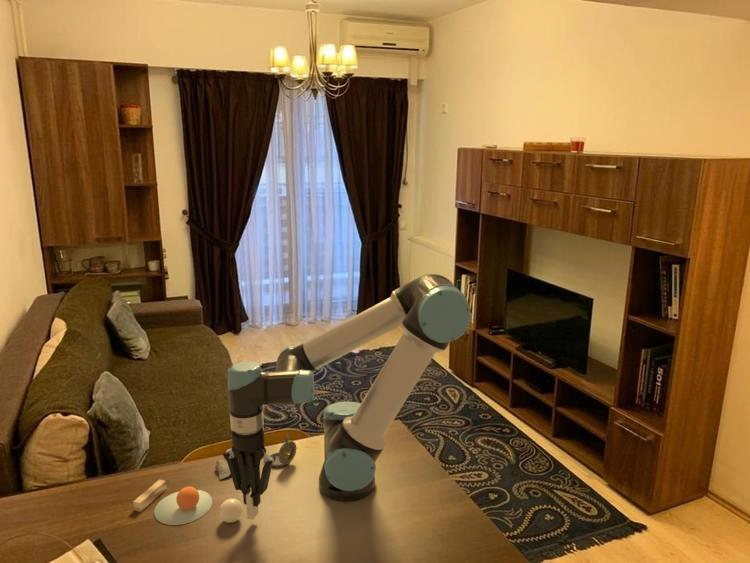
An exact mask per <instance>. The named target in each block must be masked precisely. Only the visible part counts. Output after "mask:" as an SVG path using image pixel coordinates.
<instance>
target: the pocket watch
mask: <svg viewBox="0 0 750 563" xmlns="http://www.w3.org/2000/svg"><path fill="white" fill-rule="evenodd" d="M289 437H291V433H287V434H286V435H285V436H284V437H283V440H284V442H283V443H282V445H281V446H280V448H279V450H278V452H275V453H272V454H270V455H269V456H270V457H271V456H275V458H276V459H275V461H274V462H273V464H272V467H276V468H279V467H284V466H286V465H289V463H291V462H292V461H293V460H294V458H295V456H296V453H297V445H296V443H295V442H294V441H293V440H290V439H289Z"/></svg>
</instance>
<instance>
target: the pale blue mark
mask: <svg viewBox="0 0 750 563" xmlns="http://www.w3.org/2000/svg"><path fill="white" fill-rule="evenodd" d="M196 490H197V491H198V493H199V502H198V504H197V505H196V506H195V507H194V508H192V509H190V510H183V509H181V508H180V507H179V506H178V504H177V501H176V498H177V495H178V493H179V491H176V492H173V493H170V494H169V495H167V496H165V497H164V498H162V499H161V500H160V501H159V502H158V503H157V504H156V506H155V508H154V511H153V515H154V518H155V519H156V521H158V522H160V523H161V524H164V525H167V526H179V525H181V526H182V525H185V524H189V523H193V522H195V521H197V520H199V519H201V518H202V517H204V516H205V515H206V514H207V513H208V512H209V511H210V510H211V508H212V505H213V498H212V495H210V494H209V493H208V492H206V491H204V490H200V489H196Z"/></svg>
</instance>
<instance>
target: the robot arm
mask: <svg viewBox="0 0 750 563" xmlns="http://www.w3.org/2000/svg"><path fill="white" fill-rule="evenodd" d="M471 313H472V312H471V308H470V304H469V302H468V300H467V298H466V296H465V294H464V293H463V292H462V290H460V289H459V288H458V287H456V286H455V285H454V283H453V281H451V280H450V279H449V278H447V277H446V276H443V275H441V274H436V273H434V274H433V273H432V274H431V273H430V274H425V275H422V276H418V277H417V278H415V279H413V280H411V281H408V282H407V283H406V284H403V285H402V286H400V287H398V288H396V289H394V290H392V292H391V294H390V297H388V298H386V299H384V300H382V301H380V302H379V303H376V304H375V305H373V306H371V307H369V308H367V309H365V310H363V311H362V312H359V313H357V314H356V315H354V316H352V317H350V318H348V319H347V320H344V321H342V322H341V323H338V324H337V325H335V326H334V327H331V328H329V329H328V330H326V331H324V332H322V333H320V334H318V335H316V336H314V337H313V338H311V339H309V340H307V341H305V342H304V343H301V344H299V345H289V346H286V347H284V348H283V349H282V350H281V351H280V353H279V355H278V357H277V360H276V367H275V368H276V369H275V371H263V370H262V369H261V365H260V364H259V363H258V362H255V361H249V360H248V361H246V360H245V361H241V362H237V363H234V364H232V365H231V366H229V368H228V369H227V387H226V389H227V393H228V407H229V420H230V437H231V445H232V446H231V447H229V448H228V449H227V450H225V452H223V454H222V456H223V458H225V459H226V461H227V463H228V466H229V469H230V473H231V474H230V475H231V480H232V482H233V486H234V489H235V491H239V490H240V491H241V493H242V497H243V504H244V505H246V515H247V516H246V519H248V520H252V521H253V520H254V519H255V518H256V517H257V516H258V514H259V505H261V501H262V500H261V496H263V494H264V493H265V492H266V491H267V490H268V487H269V482H270V481H269V480H270V476H271V472H272V467H273V466H272V464H273V462H274V461H275V459H276V458H275V456H271V457H270V455H269V454H268V453H267V449H266V447H265V439H266V438H265V437H266V436H265V427H264V425H265V423H264V420H265V419H264V406H268V405H300V404H308V403H312V402H313V401H314V399H315V377H314V376H315V375H314V372H315V371H317V370H319V369H320V368H323V367H324V366H326V365H328V364H330V363H332V362H333V361H335V360H338V359H340V358H341V357H344V356H345V355H347V354H349V353H351V352H353V351H354V350H357V349H359V348H361V347H362V346H364V345H366V344H368V343H370V342H372V341H374V340H376V339H378V338H379V337H381V336H383V335H385V334H387V333H390V332H391V331H393V330H395V329H397V328H399V327H400V326H401V327H402V330H403V332H402V335H401V337H400V338H399V340H398V341H397V344H396V345H395V346H394V348H393V350H392V351H391V353H390V355H389V357H387V359H386V361H385V363H384V365H383V366H382V368H381V370H379V373H378V375H377V377H376V378H375V380H374V382H372V385H371V386H370V388H369V390H368V391H367V392H366V394H365V396H364V397H363V400H362V401H361V403H360V402H356V401H339V402H335V403H331V404H329V405H327V406H326V407H325V408H324V410H323V417H322V419H323V430H324V431H323V438H324V440H323V441H324V445H323V446H324V453H323V456H324V461H323V462H322V463H323V464H322V467H321V470H320V473H319V476H318V488H319V491H320V492H321V494H322V495H323V496H325V497H327V498H329V499H331V500H334V501H338V502H354V501H357V500H358V501H359V500H360V499H364V498H365V497H367V496H368V495H370V494H371V493H372V492H373V491H374V489H375V485H376V476H375V475H376V470H377V465H376V463H377V462H376V461H377V460H378V458H379V457H380V455H381V454H382V452H383V451H384V449H385V447H386V444H387V443H386V442H387V441H386V440H385V434H386V433H387V432H388V430H389V429H390V427H391V426H392V424H393V422H394V420H395V419H396V417H397V415H398V413H399V412H400V411H401V409H402V407H403V406H404V404H405V402H406V401H407V399H408V398H409V396H410V394H411V393H412V391H413V390H414V388H415V386H416V385H417V384H418V382H419V380H420V378H421V377H422V375H423V373H424V372H425V370H426V369H427V367H428V366H429V363H430V362H431V360H432V359H433V357H434V356H435V354H436V353H441V352H444V351H446V349H447V348H448V346H449V344H450V343H451V342H453V341H456V340H458V339H459V338H460V337H461V336H463V335H464V334H465V332H466V331H467V329H468V327H469V325H470V322H471V317H472V315H471ZM238 460H239V462H238ZM262 460H263V461H262ZM261 461H262V462H263V463H262V464H263V466H262V469H261Z"/></svg>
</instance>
